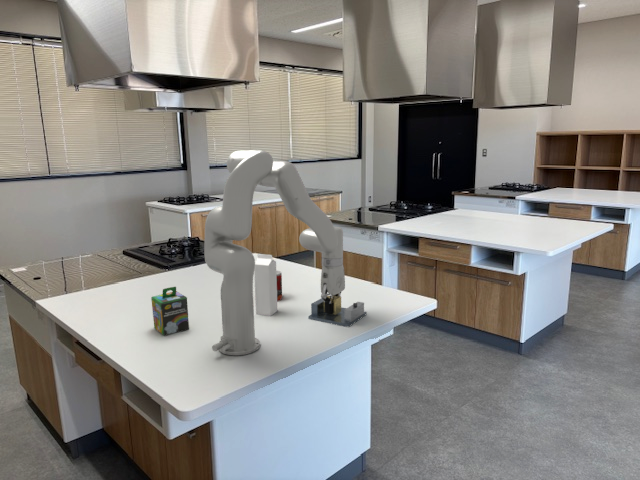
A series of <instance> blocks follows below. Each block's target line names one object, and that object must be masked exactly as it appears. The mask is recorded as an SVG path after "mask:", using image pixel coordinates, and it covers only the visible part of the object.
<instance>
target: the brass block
mask: <svg viewBox="0 0 640 480" xmlns="http://www.w3.org/2000/svg"><path fill="white" fill-rule="evenodd" d="M340 296H341V295H340ZM340 296H335V295H334V296H333V299H332V303H333V314H335V315H336V314H338V313H339V312H341V307H342V296H341V297H340ZM327 297H329V299H330V296H327ZM324 312H325V302H324Z"/></svg>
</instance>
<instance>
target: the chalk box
mask: <svg viewBox="0 0 640 480" xmlns="http://www.w3.org/2000/svg"><path fill="white" fill-rule="evenodd" d="M169 291H170V292H169ZM150 297H151V298H150V299H151V308H152V317H153V325H154V326H153V329H155V330H156V332H158V333H160V334H161V335H162V336H164V337H165V336H168V335H171V334H176V333H179V332H183V331H188V330H190V324H189V323H190V322H189V309H188V307H189V306H188V297H187V296H185V295H184V294H182V293H180V292H178V291H177V286H171V287H166V288H162V294H159V295H158V294H157V295H154V296H153V295H152V296H150Z"/></svg>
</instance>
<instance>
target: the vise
mask: <svg viewBox="0 0 640 480" xmlns="http://www.w3.org/2000/svg"><path fill="white" fill-rule="evenodd" d="M310 308H311V309H310V311H311V313H310V315H308V320H312V321H318V322H322V323H327V324H331V323H332V325H336V324H337V326H341V325H343V326H342V327H345V326H349V327H351V326H352V325H354V324H355V323H356V322H358V321H359V320H361V319H362V318H363V317H362V316H364V315H365V314H366V315H367V311H364V314H362V315H361V316H359V317H358V318H356V319H355V320H353V321H352V322H348V321H345V309H347V308H348V307H347V308H346V307H343V306H341V312H339V313H338V314H336V315H335V314H329V313H325V312H324V300H323V299H322V298H321V297H320V298H319V299H318V300H316V301H314V302H311V303H310ZM366 315H365V316H366ZM365 316H364V317H365ZM361 317H362V318H361ZM360 318H361V319H360ZM358 319H359V320H358ZM357 320H358V321H357ZM355 321H356V322H355ZM354 322H355V323H354ZM353 323H354V324H353ZM351 324H352V325H351ZM350 325H351V326H350Z"/></svg>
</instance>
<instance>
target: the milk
mask: <svg viewBox="0 0 640 480" xmlns="http://www.w3.org/2000/svg"><path fill="white" fill-rule="evenodd" d="M276 270H277V261H276V260H274V259H273V254H264V253H258V254H257V258H256V259H255V269H254V276H253V277H254V297H255V298H254V300H255V314H256V315H260V316H268V317H269V316H270V317H272V315H274V314H276V313H277V312H278V301H277V277H276Z"/></svg>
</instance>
